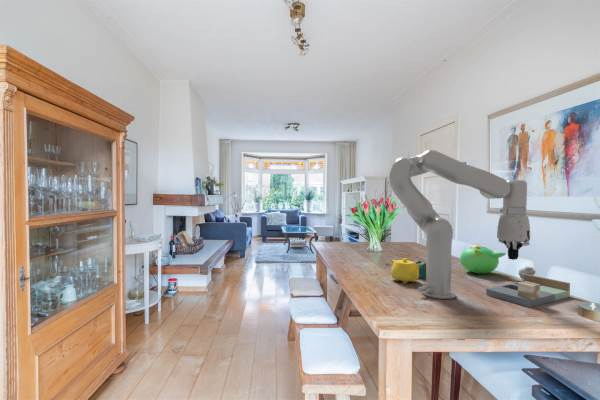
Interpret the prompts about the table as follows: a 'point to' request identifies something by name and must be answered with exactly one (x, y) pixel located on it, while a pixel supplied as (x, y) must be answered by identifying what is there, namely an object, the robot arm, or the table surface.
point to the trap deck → (548, 291)
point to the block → (529, 290)
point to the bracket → (421, 269)
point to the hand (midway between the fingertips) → (512, 258)
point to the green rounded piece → (480, 259)
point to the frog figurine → (526, 272)
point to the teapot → (405, 270)
